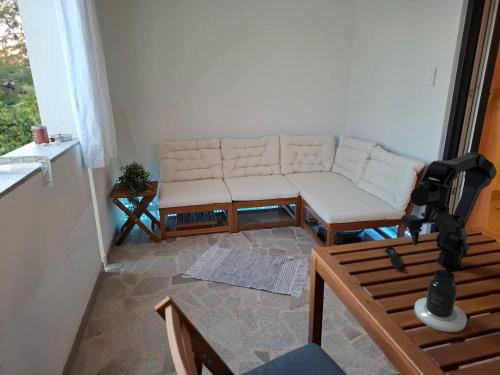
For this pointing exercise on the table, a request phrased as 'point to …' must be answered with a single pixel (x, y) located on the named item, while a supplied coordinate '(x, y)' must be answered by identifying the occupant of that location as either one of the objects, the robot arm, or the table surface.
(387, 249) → the electric trimmer
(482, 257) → the table surface
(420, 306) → the saucer
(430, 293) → the supplement bottle
